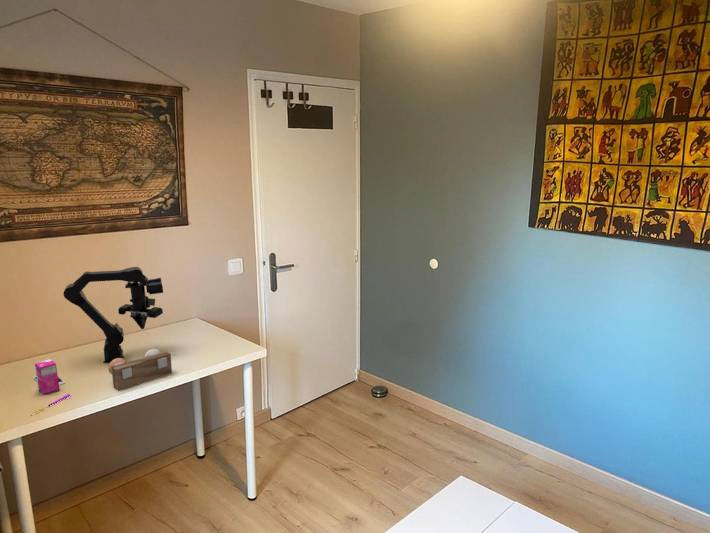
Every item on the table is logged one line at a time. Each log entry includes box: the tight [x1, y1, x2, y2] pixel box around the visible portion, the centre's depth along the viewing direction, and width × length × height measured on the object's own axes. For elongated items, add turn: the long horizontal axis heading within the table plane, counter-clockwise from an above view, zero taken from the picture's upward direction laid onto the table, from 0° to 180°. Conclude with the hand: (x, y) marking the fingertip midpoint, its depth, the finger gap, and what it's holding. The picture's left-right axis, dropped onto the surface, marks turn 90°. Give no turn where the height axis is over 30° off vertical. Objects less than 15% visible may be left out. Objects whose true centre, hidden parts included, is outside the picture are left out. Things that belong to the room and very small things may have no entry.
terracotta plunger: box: [107, 358, 132, 379], centre depth 197 cm, size 9×7×7 cm
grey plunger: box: [143, 348, 167, 369], centre depth 207 cm, size 9×7×7 cm
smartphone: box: [32, 375, 66, 386], centre depth 201 cm, size 7×16×1 cm, turn 48°
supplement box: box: [34, 358, 61, 396], centre depth 192 cm, size 6×6×12 cm
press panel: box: [111, 350, 173, 392], centre depth 201 cm, size 4×22×9 cm, turn 137°
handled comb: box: [33, 393, 71, 413], centre depth 181 cm, size 3×1×16 cm
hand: (142, 328), depth 225 cm, fingers closed
